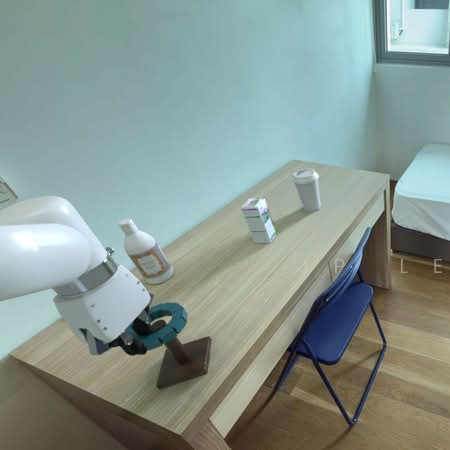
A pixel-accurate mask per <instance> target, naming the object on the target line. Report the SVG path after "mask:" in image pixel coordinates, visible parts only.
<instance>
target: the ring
mask: <svg viewBox="0 0 450 450" xmlns="http://www.w3.org/2000/svg"><path fill="white" fill-rule="evenodd" d="M188 316H189V314H188V312H187V311H186V309H185V308H184V306H182V304H180V303H179V302H173V301H172V302H169V301H168V302H165V303H164V302H162V303H158V304H156V305H153V306H150V310H149V317H150V318H151V321H150V324H152V323H154V322H155V321H157V319H158V320H159V319H161V318H164V317H171V319H170V320H169V321H168V322H167V325H166V326H165V327H164V328H162V329H161V330H159V331H158V332H156V333H153V334H150V335H147V336H139V335H138V334H136V333H135V331H134V330H133V329H132V327H131V326H132V325H133V324H134V323H131V324H130V325H129V326H128V327H127V328H126V329H125V330H126V331H127V332H128V333H129V335H130V336H131V337H132V338H136V339H138V340H139V341H140V342H141V343H142V345H143V346H144V347H145V348H146V349H147V352H149V351H152V350H155V349H157V348H160V347H163V346H164V344H166V343H168V342H169V341H171V340H172V339H173V338H175V337H178V335H179V334H180V333H181V332H182V331H183V330H184V329H185V327H186V325H187V323H188ZM163 343H164V344H163Z"/></svg>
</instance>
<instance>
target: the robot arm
mask: <svg viewBox="0 0 450 450" xmlns="http://www.w3.org/2000/svg"><path fill="white" fill-rule="evenodd" d="M113 254H115V250H114V248H112V247H110V246H106V247H104V246H103V244H102V243H101V242H100V240H99V239H98V238H97V236H96V235H95V234H94V232H93V231H92V229H91V228H90V226H89V225H88V224H87V223H86V221H85V220H84V218H83V217H82V216H81V214H80V213H79V212H78V211H77V209H76V208H75V207H74V205H73V204H72V203H71V202H70V201H69V200H68V199H66V198H64V197H62V196H59V195H58V196H57V195H44V196H37V197H36V196H35V197H32V198H27V199H24V200H21V201H18V202H15V203H13V204H11V205H9V206H6V207H4V208H3V209H1V210H0V302H3V301H8V300H13V299H16V298H20V297H24V296H29V295H32V294H35V293H39V292H43V291H47V290H51V289H52V290H53V291H54V292H55V293H56V294H55V296H54V297H53V298H52V300H53V303H54V305H55V308H56V310H57V312H58V313H59V315H60V317H61V318H62V320H63V321H64V323H65V324H66V325H67V327H68V328H69V329H70V330H71V332H72V333H73V334H74V335H75V336H76V338H77V339H79V340H80V341H81V342H82V343H85V344H87V346H88V351H89V354H90V355H91V356H101V355H103V354H105V353H106V352H108V351H110V350H111V349H112V348H118V347H119V348H121V349H122V351H123V352H125V354H126V355H127V356H133V357H134V356H137V355H138V356H144V355H146V354H147V353H148V350H147V349H146V348H145V347H144V346H143V345H142V343H141V342H140V341H139V340H138V339H136V338H132V337H131V336H130V335H129V333H128V332H127V331H126V330H125V329H126V328H127V327H128V326H129V325H130V324H131V323H134V324H133V325H132V326H131V327H132V329H133V330H134V331H135V333H136V334H138V335H139V336H147V335H150V334H153V333H156V332H155V329H154V328H153V327H152V323H150V321H151V318H150V317H149V310H150V309H151V305H152V302H153V300H154V298H155V295H154V294H153V293H150V292H148V289H146V287H145V285H143V283H142V282H141V281H140V280H139V279H138V278H137V277H136V275H134V274H133V273H132V272H131V271H130V270H129V269H128V268H127V267H125V266H124V265H123V264H121V263H120V262H118V261H115V260H114V259H113V257H112V255H113Z"/></svg>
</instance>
